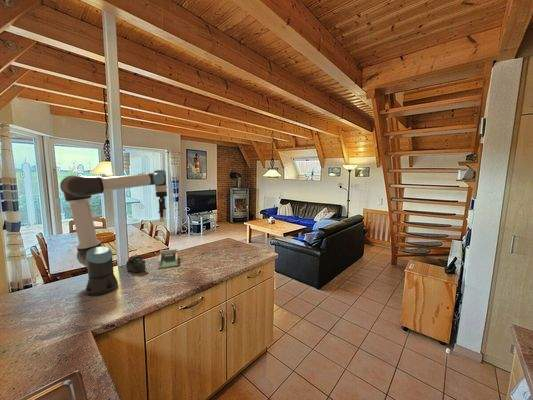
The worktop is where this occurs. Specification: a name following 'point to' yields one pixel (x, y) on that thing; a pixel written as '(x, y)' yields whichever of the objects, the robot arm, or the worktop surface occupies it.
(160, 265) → the header
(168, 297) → the worktop surface
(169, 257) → the plug
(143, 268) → the camera
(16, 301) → the worktop surface
